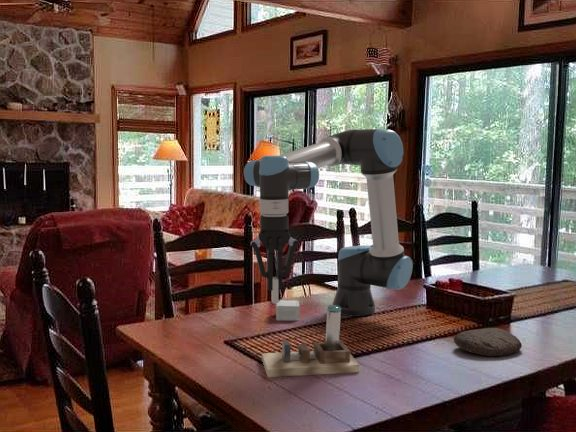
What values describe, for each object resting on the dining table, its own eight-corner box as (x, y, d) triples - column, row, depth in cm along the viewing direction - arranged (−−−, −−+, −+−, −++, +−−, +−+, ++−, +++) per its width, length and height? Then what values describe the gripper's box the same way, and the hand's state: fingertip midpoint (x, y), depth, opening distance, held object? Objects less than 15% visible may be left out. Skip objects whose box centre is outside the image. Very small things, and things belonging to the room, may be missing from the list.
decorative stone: (482, 363, 166) (483, 345, 165) (445, 348, 178) (446, 331, 177) (530, 352, 175) (531, 335, 174) (492, 338, 187) (493, 322, 187)
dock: (346, 356, 170) (347, 337, 169) (359, 372, 158) (359, 352, 157) (261, 360, 165) (261, 341, 165) (267, 377, 154) (268, 356, 153)
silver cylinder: (336, 355, 164) (339, 305, 163) (339, 360, 161) (342, 309, 159) (323, 355, 164) (326, 304, 162) (325, 360, 160) (328, 308, 159)
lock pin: (313, 355, 163) (313, 339, 163) (316, 360, 160) (316, 343, 159) (282, 357, 162) (282, 340, 161) (284, 362, 158) (284, 345, 158)
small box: (299, 321, 203) (299, 306, 203) (275, 320, 203) (276, 306, 202) (298, 314, 211) (298, 300, 210) (275, 314, 211) (276, 300, 210)
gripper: (251, 217, 154) (252, 307, 158) (301, 215, 157) (301, 304, 160) (247, 213, 162) (249, 299, 165) (295, 212, 164) (296, 296, 167)
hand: (274, 301), depth 163 cm, fingers closed
